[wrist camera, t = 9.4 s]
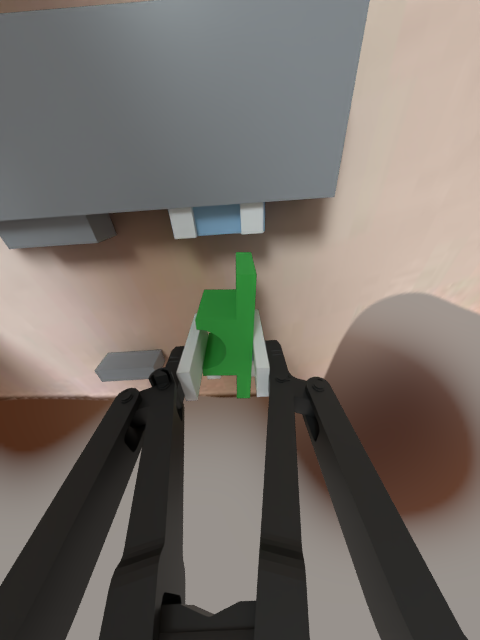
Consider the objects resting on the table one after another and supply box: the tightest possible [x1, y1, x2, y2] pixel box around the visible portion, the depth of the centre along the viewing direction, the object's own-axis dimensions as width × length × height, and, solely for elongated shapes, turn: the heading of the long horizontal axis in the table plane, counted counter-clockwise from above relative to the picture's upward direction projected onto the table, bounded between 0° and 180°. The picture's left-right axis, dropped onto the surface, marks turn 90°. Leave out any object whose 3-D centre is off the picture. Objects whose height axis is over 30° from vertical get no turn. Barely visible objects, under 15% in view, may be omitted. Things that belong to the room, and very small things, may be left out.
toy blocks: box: [0, 0, 370, 382], centre depth 18 cm, size 28×26×4 cm
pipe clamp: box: [195, 252, 257, 398], centre depth 16 cm, size 11×4×5 cm, turn 0°
